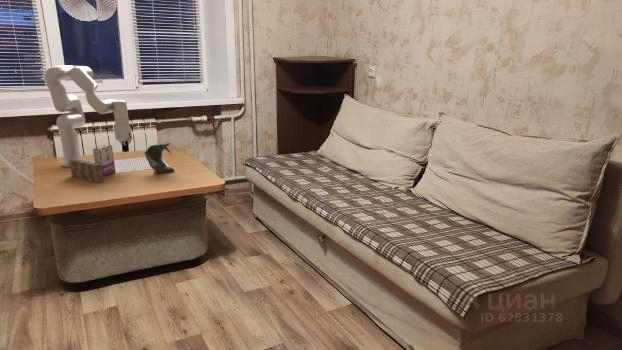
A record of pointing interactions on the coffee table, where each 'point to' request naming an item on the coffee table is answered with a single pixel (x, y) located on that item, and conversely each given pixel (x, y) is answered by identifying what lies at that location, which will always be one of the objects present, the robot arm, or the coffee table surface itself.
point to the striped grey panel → (86, 170)
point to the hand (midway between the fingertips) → (126, 151)
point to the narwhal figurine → (157, 158)
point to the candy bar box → (105, 159)
